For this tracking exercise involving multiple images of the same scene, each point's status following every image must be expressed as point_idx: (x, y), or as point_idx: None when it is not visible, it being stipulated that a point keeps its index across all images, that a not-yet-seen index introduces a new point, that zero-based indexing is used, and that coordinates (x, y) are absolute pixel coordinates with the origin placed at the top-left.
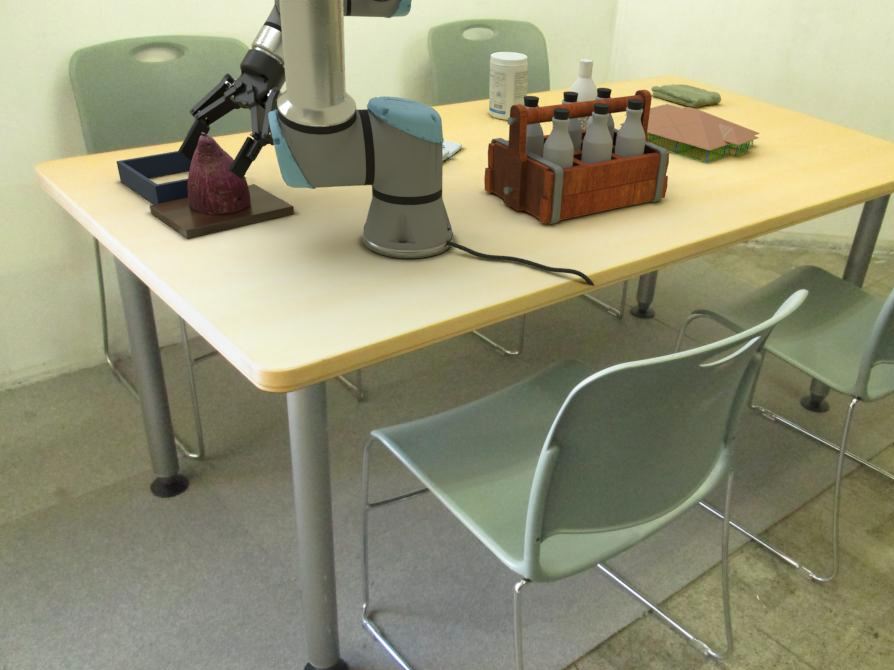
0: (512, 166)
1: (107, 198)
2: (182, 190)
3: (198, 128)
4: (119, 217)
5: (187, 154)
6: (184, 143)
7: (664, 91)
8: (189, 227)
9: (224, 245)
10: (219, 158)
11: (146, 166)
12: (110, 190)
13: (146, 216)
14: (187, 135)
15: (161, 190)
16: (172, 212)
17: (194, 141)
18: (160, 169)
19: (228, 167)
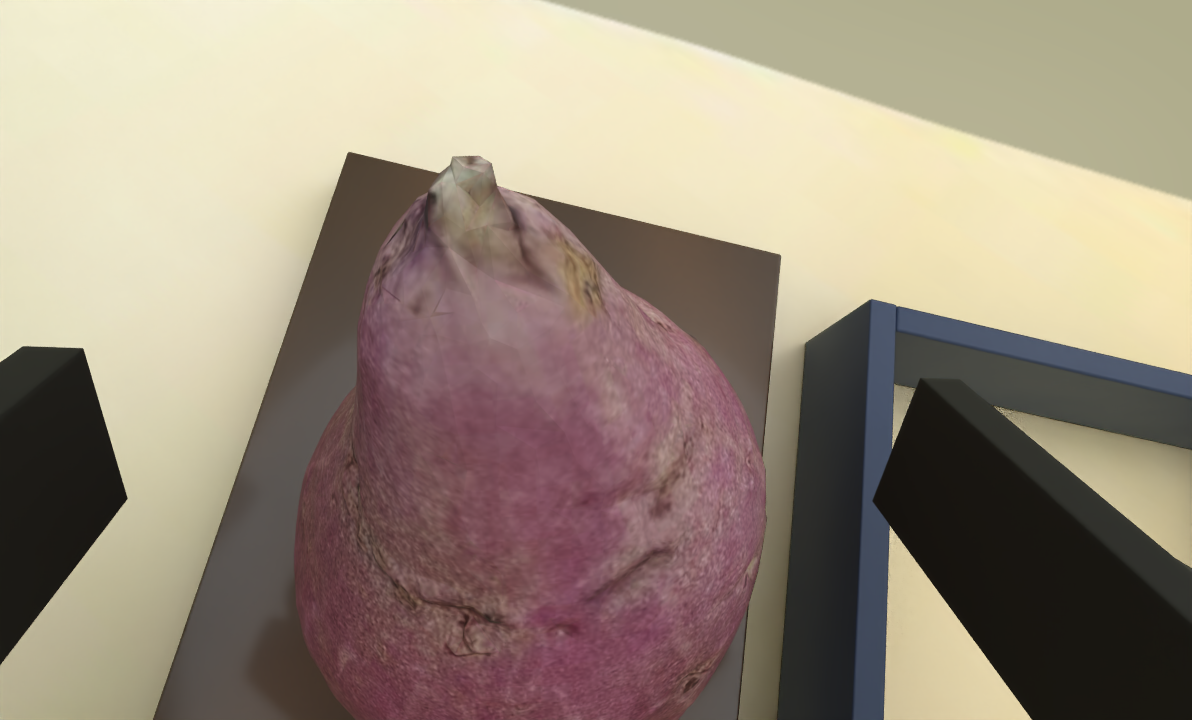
0: None
1: (1051, 268)
2: (831, 471)
3: (1181, 690)
4: (807, 162)
5: (905, 455)
6: (1000, 436)
7: None
8: (365, 183)
9: (129, 232)
10: (350, 432)
11: None
12: (1143, 338)
13: (744, 239)
14: (1103, 504)
15: (850, 341)
16: (614, 263)
17: (1007, 564)
18: None
19: (316, 518)
